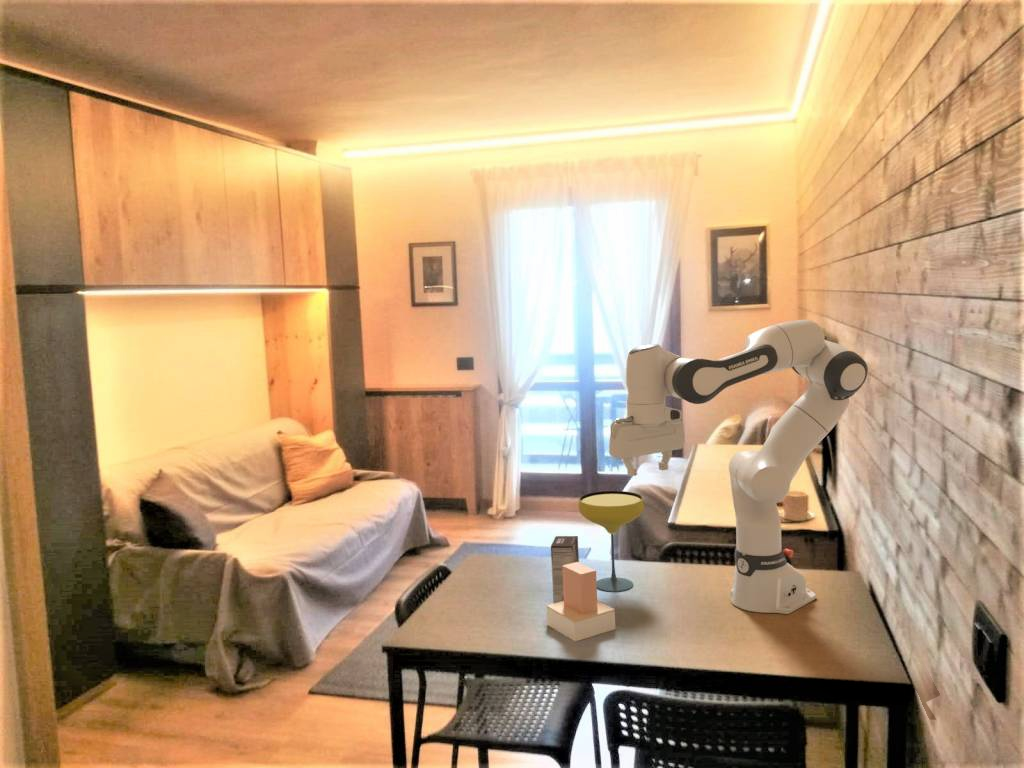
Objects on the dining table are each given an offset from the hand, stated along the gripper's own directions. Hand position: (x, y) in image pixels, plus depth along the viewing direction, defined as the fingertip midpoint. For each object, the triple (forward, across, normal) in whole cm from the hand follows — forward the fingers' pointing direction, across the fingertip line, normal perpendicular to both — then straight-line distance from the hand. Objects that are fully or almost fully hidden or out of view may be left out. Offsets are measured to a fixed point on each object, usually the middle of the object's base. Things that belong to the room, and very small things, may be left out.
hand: (648, 472), depth 182 cm
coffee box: (+39, -4, +31) cm, 50 cm away
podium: (+39, -12, +13) cm, 43 cm away
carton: (+34, -12, +13) cm, 38 cm away
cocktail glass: (+39, +12, +31) cm, 52 cm away
